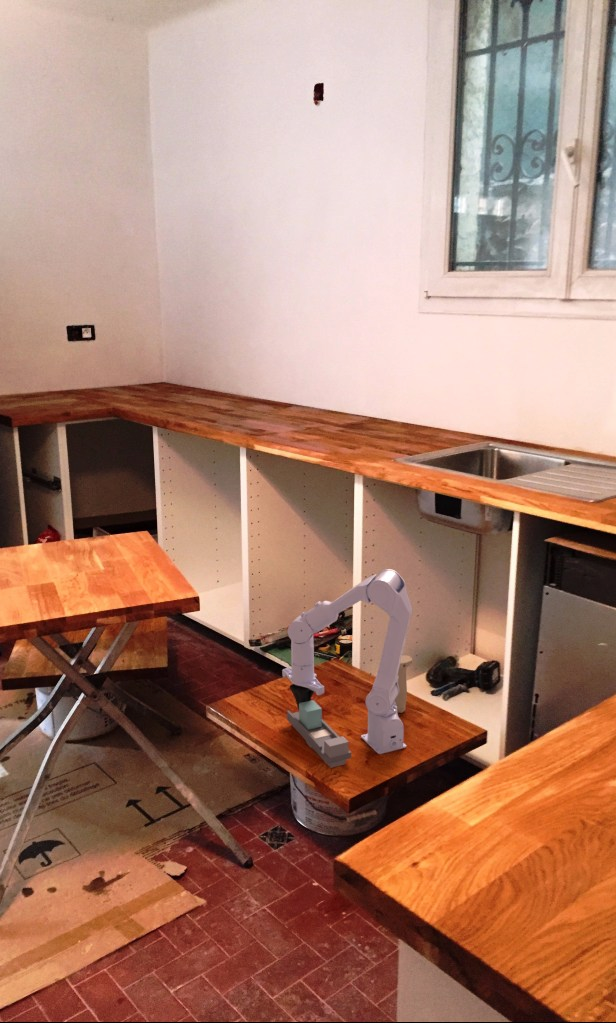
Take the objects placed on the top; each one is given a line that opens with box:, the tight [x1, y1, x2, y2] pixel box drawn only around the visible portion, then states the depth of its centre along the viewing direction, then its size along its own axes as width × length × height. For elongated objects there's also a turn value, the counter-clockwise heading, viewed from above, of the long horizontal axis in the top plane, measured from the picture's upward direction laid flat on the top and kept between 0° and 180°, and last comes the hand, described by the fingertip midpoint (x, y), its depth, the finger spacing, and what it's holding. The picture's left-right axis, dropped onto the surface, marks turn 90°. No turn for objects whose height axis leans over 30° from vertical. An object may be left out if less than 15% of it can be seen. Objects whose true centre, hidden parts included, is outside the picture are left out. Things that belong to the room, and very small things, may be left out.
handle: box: [395, 654, 413, 714], centre depth 227 cm, size 5×6×15 cm
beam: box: [286, 710, 352, 769], centre depth 212 cm, size 24×6×6 cm, turn 25°
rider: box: [298, 699, 323, 730], centre depth 216 cm, size 5×4×5 cm
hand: (303, 710), depth 220 cm, fingers closed
